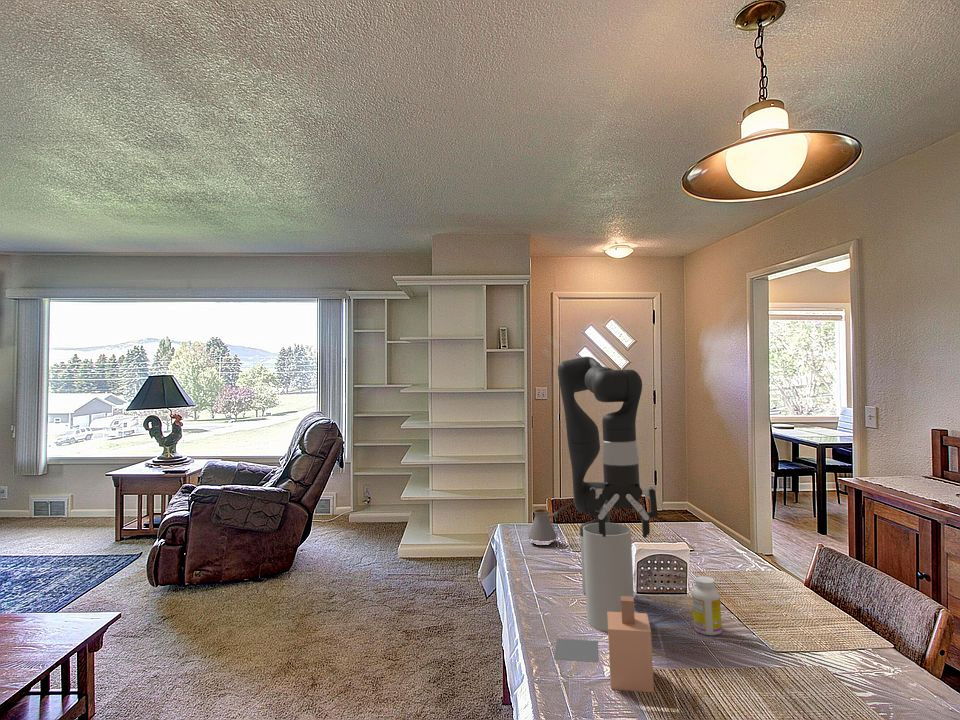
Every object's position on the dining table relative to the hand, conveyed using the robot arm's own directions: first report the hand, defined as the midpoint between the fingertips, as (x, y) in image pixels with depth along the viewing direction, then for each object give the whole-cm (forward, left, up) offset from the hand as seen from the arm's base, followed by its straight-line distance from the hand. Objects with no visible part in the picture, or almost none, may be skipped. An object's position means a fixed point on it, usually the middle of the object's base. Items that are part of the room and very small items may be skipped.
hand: (624, 536), depth 115 cm
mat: (+2, -16, -31) cm, 35 cm away
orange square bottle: (0, 0, -31) cm, 31 cm away
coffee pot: (-45, -90, -31) cm, 105 cm away
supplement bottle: (-33, -7, -31) cm, 46 cm away
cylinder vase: (-15, -23, -31) cm, 42 cm away
